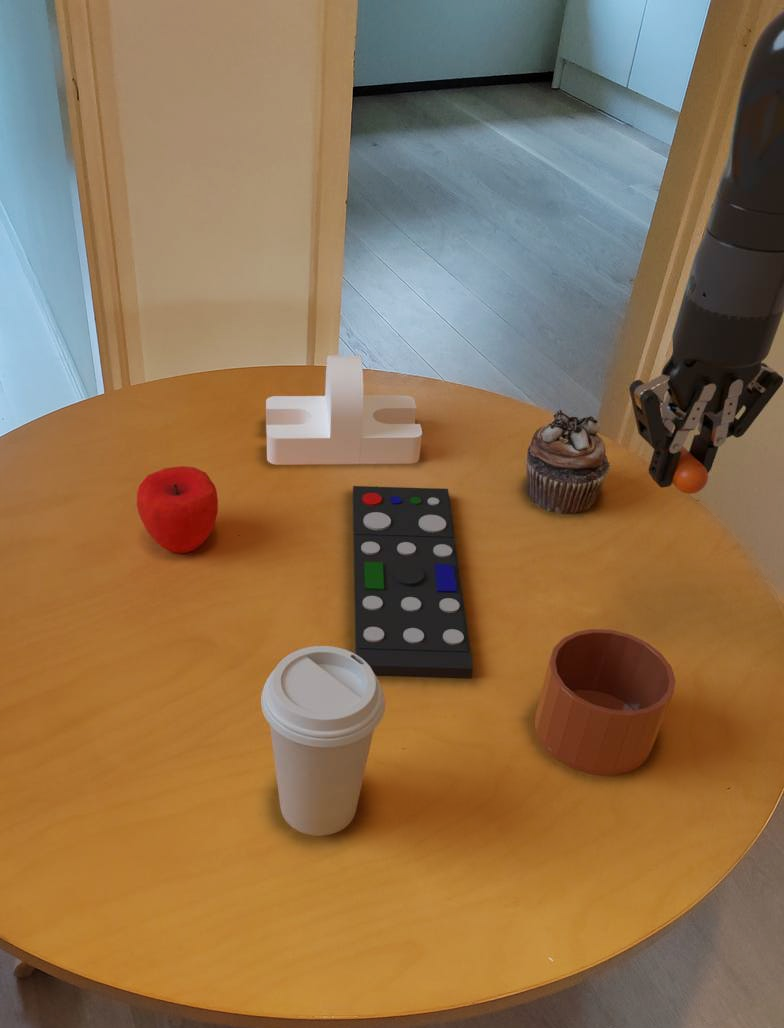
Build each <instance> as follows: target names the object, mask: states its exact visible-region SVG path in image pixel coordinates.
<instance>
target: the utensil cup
mask: <svg viewBox="0 0 784 1028" xmlns="http://www.w3.org/2000/svg"><path fill="white" fill-rule="evenodd" d="M675 686H676V678H675V674H674V671H673V668H672V665H671V664H670V663H669V661H668V660H667V659H666V657H665V656H664V655H663V654H662V653H661V651H659V650H658V649H657V648H655V647H654V646H652V645H651V644H650V642H647V641H645V640H642V639H641V638H638V637H637V636H635V635H632V634H630V633H626V632H621V631H617V630H615V629H605V628H603V629H602V628H590V629H584V630H579V631H575V632H573V633H570V634H569V635H566V636H564V637H563V638H561V640H559V641H558V642H557V643H556V645H555V646H554V647H553V648H552V651H551V655H550V658H549V661H548V665H547V669H546V672H545V677H544V681H543V685H542V689H541V693H540V697H539V701H538V703H537V704H538V705H537V708H536V712H535V718H534V730H535V733H536V736H537V738H538V740H539V742H540V744H541V746H542V747H543V749H545V750H546V751H547V752H548V754H549V755H551V756H552V758H554V759H556V760H557V761H558V762H560V763H561V764H563V765H565V766H567V767H568V768H570V769H573V770H576V771H578V772H580V773H583V774H584V773H585V774H588V775H594V776H603V777H605V776H607V777H608V776H609V777H610V776H619V775H623V774H627V773H629V772H632V771H634V770H636V769H637V768H639V767H640V766H642V765H643V764H644V763H645V761H647V759H648V758H649V756H650V754H651V752H652V750H653V748H654V745H655V742H656V740H657V737H658V735H659V732H660V729H661V726H662V725H663V721H664V719H665V716H666V714H667V712H668V708H669V705H670V703H671V700H672V698H673V695H674V691H675Z"/></svg>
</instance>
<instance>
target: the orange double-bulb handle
mask: <svg viewBox="0 0 784 1028" xmlns="http://www.w3.org/2000/svg"><path fill="white" fill-rule="evenodd" d="M648 445H649V446H650V447H651V448H652V450H654V448H653V447H652V446H651V445H650V444H649V443H648ZM680 452H681V455H680V458H679V462H678V465H677V468H676V471H675V474H674V476H673V481H672V484H673V486H674V487H675V488H677V490H678V491H680V492H682V493H684V494H688V495H692V494H697V493H699V492H701V491H702V490H703V489H704V488H706V485H707V484H708V480H709V473H708V472H707V470H706V468H705V467H704V466H703V465H702V464H701V463H700V462H699V461H698V460H697V459H696V458H695V457H694V456H693V455H692V454H691V453H690V452H689V450H688V449H687V448H686V447H684V445H683V446H682V448H681V450H680Z"/></svg>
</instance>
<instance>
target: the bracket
mask: <svg viewBox="0 0 784 1028" xmlns="http://www.w3.org/2000/svg"><path fill="white" fill-rule="evenodd" d="M362 361H363V360H362V357H361V356H360V355H359V354H357V355H355V354H354V355H351V354H350V355H349V354H348V355H345V354H343V355H342V354H341V355H337V354H336V355H335V354H333V355H327V358H326V367H325V386H324V387H325V390H324V395H273V396H269V397H268V398H266V400H265V432H266V433H265V434H266V460H267V462H268V463H270V464H272V465H283V466H284V465H391V464H393V465H394V464H395V465H397V464H398V465H399V464H405V465H407V464H409V465H410V464H416V463H418V462H419V461H420V457H421V449H422V447H421V446H422V439H423V429H422V425H421V423H416V417H417V405H416V401H415V399H414V398H413V397H412V396H409V395H364V373H363V372H364V371H363V362H362Z"/></svg>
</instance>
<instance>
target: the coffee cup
mask: <svg viewBox="0 0 784 1028" xmlns="http://www.w3.org/2000/svg"><path fill="white" fill-rule="evenodd" d="M260 706H261V710H262V714H263V716H264V718H265V720H266V721H267V723H268V724H269V730H270V736H271V745H272V752H273V759H274V769H275V776H276V783H277V790H278V791H277V792H278V799H279V807H280V812H281V814H282V817H283V819H284V820H285V822H286V823H287V824H288V825H289V826H290V827H292V828H293V829H294V830H296V831H298V832H300V833H302V834H305V835H307V836H308V835H309V836H314V837H323V836H330V835H333V834H336V833H338V832H341V831H342V830H344V829H346V827H348V826H349V825H350V824H351V822H352V821H353V819H354V818H355V815H356V812H357V807H358V803H359V799H360V794H361V790H362V786H363V781H364V776H365V772H366V767H367V762H368V758H369V754H370V750H371V744H372V741H373V736H374V732H375V729H376V728H377V727H378V725H380V723H381V721H382V719H383V718H384V714H385V711H386V697H385V692H384V690H383V686H382V685H381V682H380V680H379V678H378V676H376V675H375V674H374V672H373V671H372V669H371V667H370V666H369V665H368V664H367V663H366V662H365V661H364V660H363V659H362V658H361V657H359V656H358V655H356V654H355V652H352V651H350V650H348V649H345V648H341V647H337V646H330V645H315V646H307V647H303V648H300V649H297V650H295V651H292V652H291V653H289V654H288V655H286V656H285V657H283V658H282V659H281V660H280V661H279V662H278V664H277V665H276V667H275V668H274V669H273V670H272V672H271V673H270V674H269V676H268V677H267V679H266V681H265V683H264V686H263V687H262V692H261V697H260Z"/></svg>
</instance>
